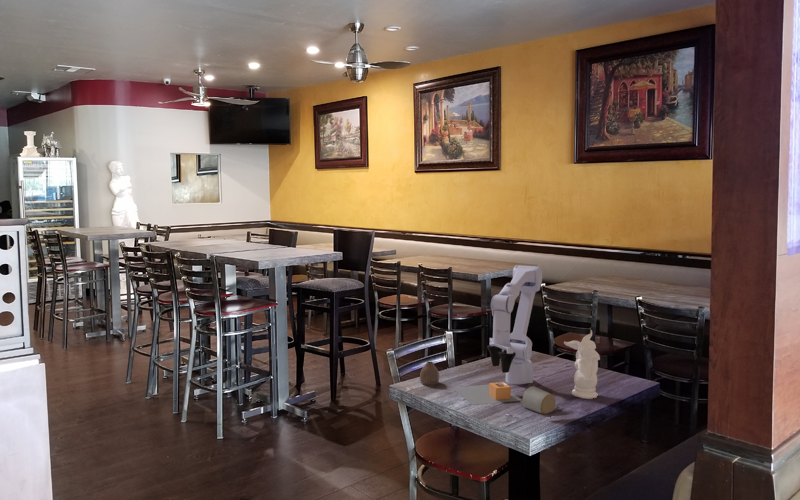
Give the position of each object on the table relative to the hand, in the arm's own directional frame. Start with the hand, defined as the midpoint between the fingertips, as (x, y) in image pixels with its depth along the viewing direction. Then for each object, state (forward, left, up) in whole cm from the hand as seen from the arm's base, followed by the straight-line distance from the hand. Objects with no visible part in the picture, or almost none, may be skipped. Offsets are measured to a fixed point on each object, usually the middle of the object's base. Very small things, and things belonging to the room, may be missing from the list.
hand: (500, 369), depth 211 cm
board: (+5, 0, -9) cm, 11 cm away
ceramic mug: (-6, +17, -10) cm, 21 cm away
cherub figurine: (-28, +5, -10) cm, 30 cm away
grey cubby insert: (+2, +4, -8) cm, 9 cm away
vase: (+20, -16, -10) cm, 27 cm away
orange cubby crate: (+2, +4, -8) cm, 9 cm away
